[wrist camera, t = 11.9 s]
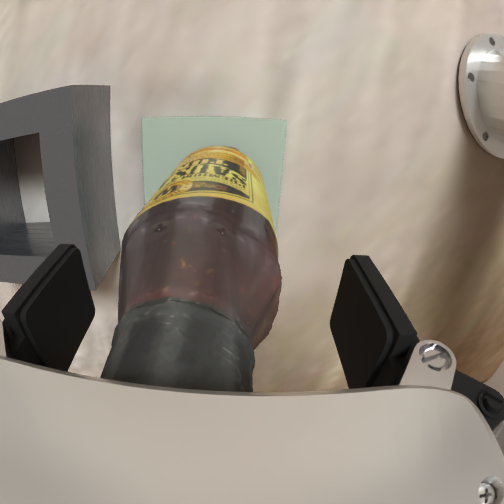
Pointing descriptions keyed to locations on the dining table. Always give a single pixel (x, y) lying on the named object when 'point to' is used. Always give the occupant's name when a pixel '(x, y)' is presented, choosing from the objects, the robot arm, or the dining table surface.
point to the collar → (60, 181)
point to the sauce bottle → (198, 278)
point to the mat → (214, 134)
